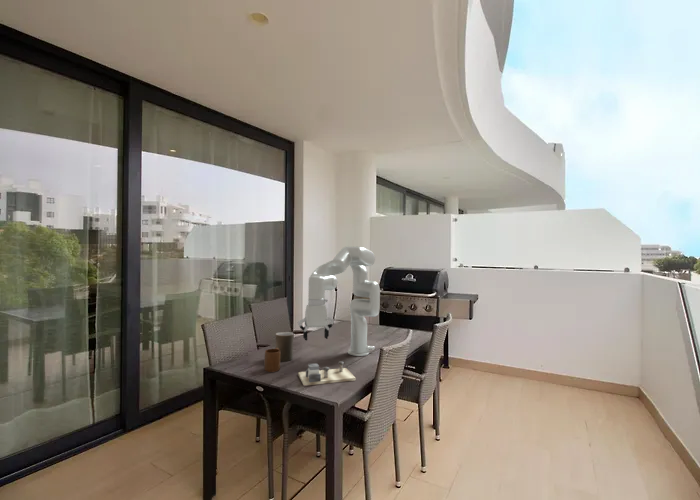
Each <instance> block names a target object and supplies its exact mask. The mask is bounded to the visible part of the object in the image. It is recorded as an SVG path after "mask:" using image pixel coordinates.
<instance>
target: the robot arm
mask: <svg viewBox="0 0 700 500" xmlns="http://www.w3.org/2000/svg"><path fill="white" fill-rule="evenodd" d="M375 261H376V256H375V253H374V252H373V251H372V250H370V249H368V248H365V247H362V246H349V245H347V246H344V247H342V248H341V249H340V251H338V253H337V254H336V256H334V258H333V259H332V260H330V261H328V262H326V263H323V264H321V265H319V266H318V267H316V268H315V270H314V271H312V273H311V274H310V275H309V277H308V290H307V291H308V299H307V300H308V301H307V304H306V305H305V306H306V307H305V312H304V317H303V318H302V319H300V320H299V321H297V324H298V327H299V328H300V330H302V332H303V333H302V334H303V335H302V336H303V339H304V341H305V342H306V341H308V329H309V328H323V327H324V330H323V331H324V339H326V340H328V337H329V336H330V334H329V331H330V329H331V328H332V327H333V325H334V323H335V320H334V319H332V318H331V317H329V316H328V311H327V309H328V308H327V305H326V303H328V299H326V298H325V297H326V295H325V293H326V292H325V291H332V290H335V289H336V288H337V286H338V283H339V281H338V278H337V277H336V275H339V274H342V273H344V272H345V271H346V270H347V268H348V267H349V266H350V269H351V270H352V293H353V295H354V296H356V297H360V298H354V299H352V300H351V301H350V303H349V313H350V348H349V349H348V350H347V354H348V355H350V356H353V357H354V356H356V357H365V356H369V355H370V350H375V349H376V348H375V346H374V345H368V321H367V319H366V317H371V318H374V317H377V316H378V315H379V313H380V307H381V305H380V304H381V302H380V301H381V300H380V299H381V288H380V287H381V286H380V285H379V283H378V282H377V281H375V280H368V276H369V275H368V269H367V268H366V267H371V266H373V265H374V264H375ZM366 298H369V299H366ZM328 322H330V323H329V324H328ZM303 323H304V326H303Z"/></svg>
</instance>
